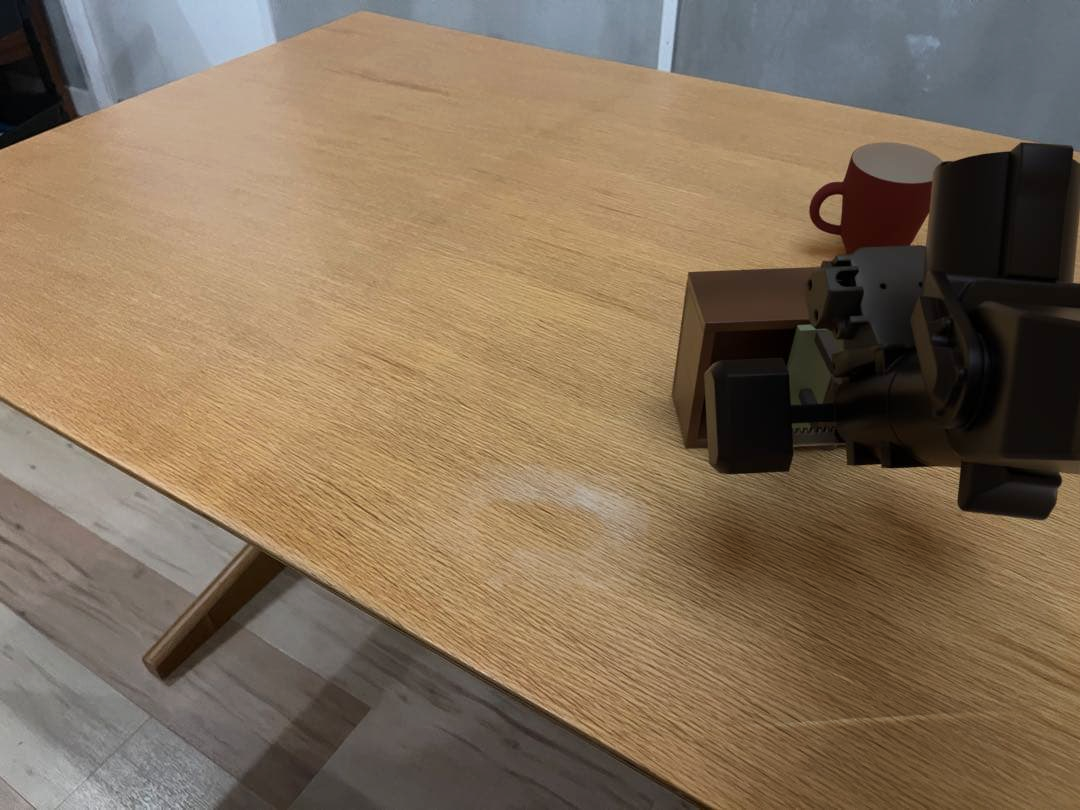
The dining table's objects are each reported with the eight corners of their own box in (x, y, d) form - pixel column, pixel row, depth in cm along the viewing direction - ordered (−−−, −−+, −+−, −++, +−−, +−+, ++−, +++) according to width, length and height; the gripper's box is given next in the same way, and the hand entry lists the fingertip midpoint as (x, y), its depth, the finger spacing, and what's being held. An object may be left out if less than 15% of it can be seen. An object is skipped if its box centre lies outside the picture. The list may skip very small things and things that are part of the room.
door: (890, 496, 56) (940, 379, 49) (790, 501, 56) (825, 384, 49) (861, 436, 61) (903, 320, 53) (767, 440, 60) (797, 324, 53)
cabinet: (871, 440, 61) (918, 314, 53) (685, 448, 61) (705, 323, 53) (844, 387, 66) (884, 263, 58) (671, 394, 65) (687, 271, 57)
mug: (807, 280, 77) (831, 181, 70) (794, 234, 83) (815, 140, 76) (922, 283, 76) (958, 185, 69) (901, 238, 82) (932, 143, 75)
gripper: (1130, 226, 39) (953, 287, 54) (739, 240, 38) (673, 298, 54) (1148, 462, 38) (964, 455, 54) (752, 481, 38) (682, 468, 53)
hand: (821, 415), depth 54 cm, fingers open, 9 cm apart
